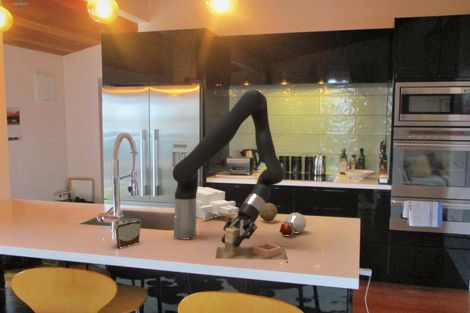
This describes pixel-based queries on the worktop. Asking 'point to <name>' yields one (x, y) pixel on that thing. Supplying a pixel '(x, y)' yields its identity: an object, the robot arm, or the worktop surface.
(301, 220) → the potion bottle
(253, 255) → the walnut board
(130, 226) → the food container
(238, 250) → the tan tall block
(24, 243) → the worktop surface
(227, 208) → the blocky voxel creature
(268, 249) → the square tan tray
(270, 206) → the natural sponge
